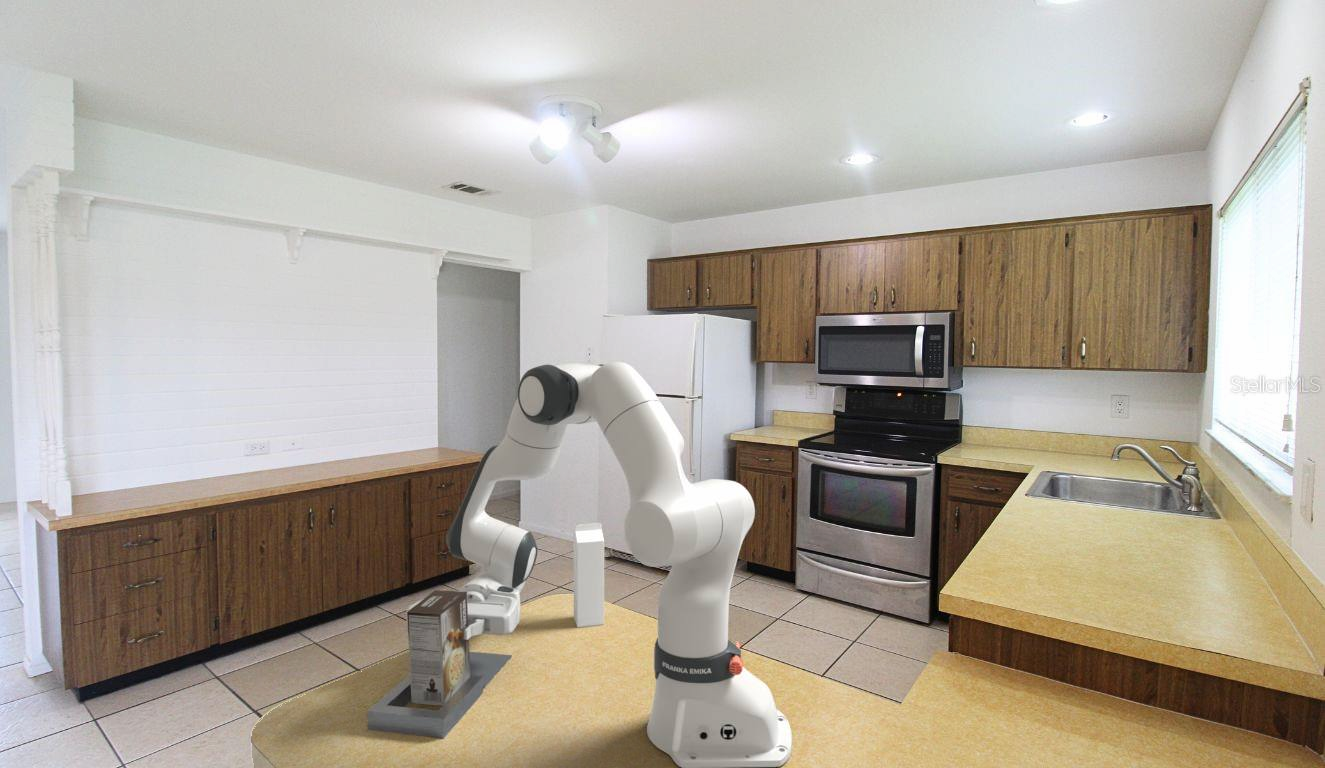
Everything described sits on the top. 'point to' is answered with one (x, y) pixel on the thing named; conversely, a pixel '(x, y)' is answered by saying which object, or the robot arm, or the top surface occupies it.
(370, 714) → the u-shaped bracket
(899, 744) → the top surface
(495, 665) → the rubber mat
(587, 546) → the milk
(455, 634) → the coffee box
